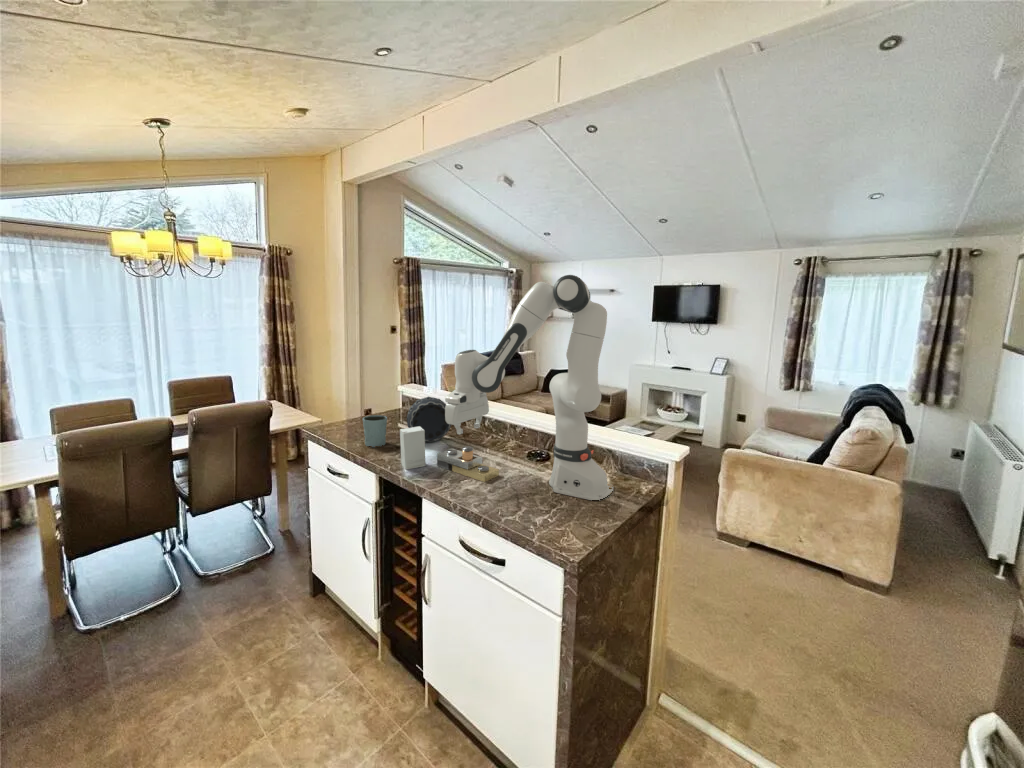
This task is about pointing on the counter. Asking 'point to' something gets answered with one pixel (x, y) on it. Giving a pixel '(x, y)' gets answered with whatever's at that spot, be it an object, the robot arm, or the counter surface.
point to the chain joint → (466, 465)
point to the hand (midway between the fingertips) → (468, 430)
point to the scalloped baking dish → (429, 418)
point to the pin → (467, 453)
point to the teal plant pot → (375, 430)
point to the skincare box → (412, 447)
